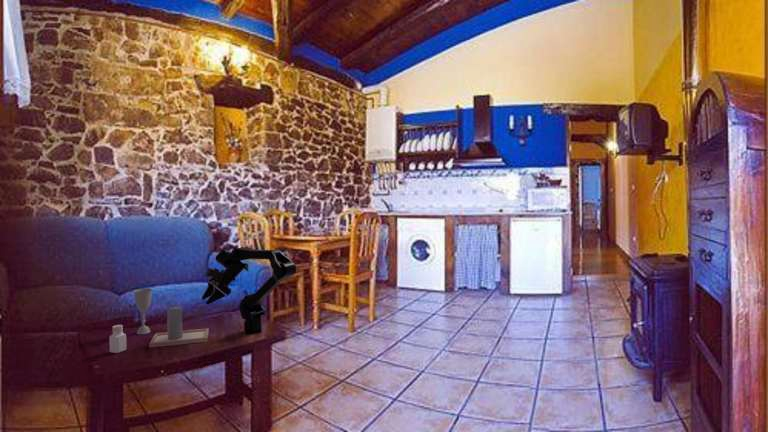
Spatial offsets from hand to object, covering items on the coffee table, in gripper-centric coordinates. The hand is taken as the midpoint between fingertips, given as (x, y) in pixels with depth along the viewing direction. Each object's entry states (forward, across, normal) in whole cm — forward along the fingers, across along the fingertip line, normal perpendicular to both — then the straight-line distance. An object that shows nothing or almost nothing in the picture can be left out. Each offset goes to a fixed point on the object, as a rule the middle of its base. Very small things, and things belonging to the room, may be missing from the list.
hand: (204, 301), depth 171 cm
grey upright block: (+17, +2, +1) cm, 17 cm away
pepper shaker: (+31, +4, -12) cm, 34 cm away
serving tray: (+16, +2, +3) cm, 17 cm away
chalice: (+25, -16, -5) cm, 30 cm away
